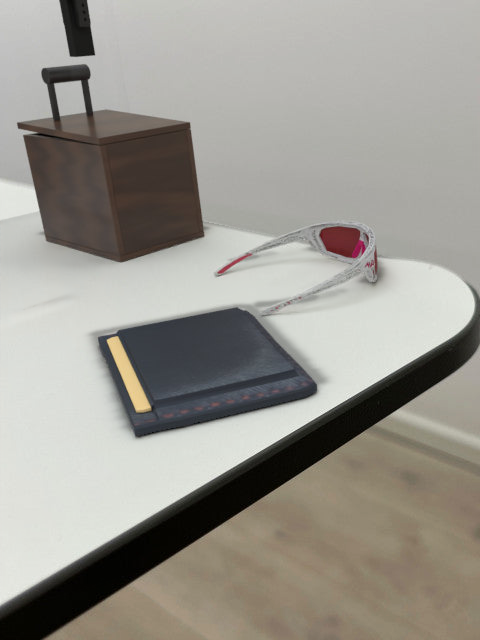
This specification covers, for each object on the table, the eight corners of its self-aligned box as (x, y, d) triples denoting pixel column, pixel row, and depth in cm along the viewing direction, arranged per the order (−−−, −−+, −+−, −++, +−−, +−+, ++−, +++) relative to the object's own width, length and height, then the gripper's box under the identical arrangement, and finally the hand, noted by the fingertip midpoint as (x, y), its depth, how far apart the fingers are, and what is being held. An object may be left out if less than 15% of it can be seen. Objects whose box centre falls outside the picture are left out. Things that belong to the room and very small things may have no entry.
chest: (46, 241, 106) (22, 134, 100) (128, 219, 115) (111, 120, 109) (120, 262, 96) (99, 145, 90) (204, 236, 105) (191, 129, 99)
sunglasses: (411, 284, 84) (403, 241, 81) (271, 343, 78) (259, 299, 76) (340, 246, 98) (332, 209, 95) (217, 294, 92) (205, 255, 89)
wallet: (319, 374, 61) (122, 418, 55) (320, 395, 61) (126, 440, 56) (250, 296, 77) (94, 324, 72) (252, 314, 78) (98, 342, 73)
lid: (17, 128, 100) (5, 69, 97) (107, 115, 110) (98, 60, 106) (99, 145, 90) (89, 79, 86) (190, 128, 99) (184, 68, 96)
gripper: (-17, -163, 88) (28, 57, 98) (44, -181, 80) (85, 59, 91) (43, -156, 93) (80, 52, 103) (106, -172, 86) (138, 54, 96)
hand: (82, 55), depth 97 cm, fingers closed
